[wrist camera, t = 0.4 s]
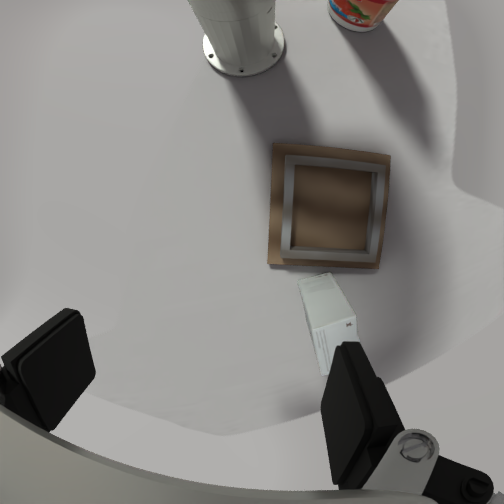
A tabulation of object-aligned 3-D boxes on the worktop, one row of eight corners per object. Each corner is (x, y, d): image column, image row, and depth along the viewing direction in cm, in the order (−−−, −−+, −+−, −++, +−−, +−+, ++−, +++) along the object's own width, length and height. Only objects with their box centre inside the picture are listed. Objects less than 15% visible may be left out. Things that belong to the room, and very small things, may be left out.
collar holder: (272, 143, 40) (273, 141, 37) (386, 155, 40) (397, 155, 36) (267, 260, 45) (267, 269, 42) (375, 265, 44) (384, 274, 41)
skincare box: (296, 279, 46) (307, 327, 32) (332, 270, 45) (357, 313, 31) (307, 323, 48) (318, 378, 34) (340, 314, 47) (363, 366, 33)
